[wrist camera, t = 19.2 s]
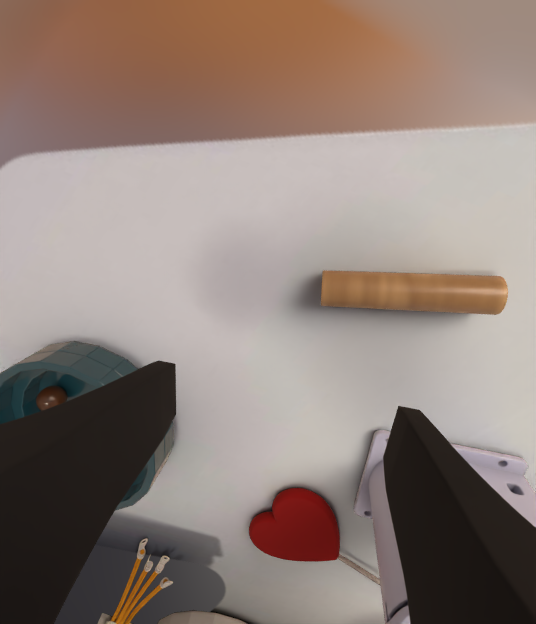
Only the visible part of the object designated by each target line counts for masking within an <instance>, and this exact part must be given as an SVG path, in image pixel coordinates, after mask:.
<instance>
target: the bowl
mask: <svg viewBox="0 0 536 624" xmlns="http://www.w3.org/2000/svg"><path fill="white" fill-rule="evenodd" d="M136 370H138V368H136V367H135V366H134V365H133V364H132V363H130V362H129V361H128V360H127V359H125V358H123V357H121V356H119V355H117V354H115V353H113V352H111V351H109V350H107V349H105V348H103V347H100V346H97V345H92V344H86V343H81V342H76V341H74V342H65V343H58V344H51V345H49V346H47V347H45V348H43V349H42V350H40V351H38V352H36V353H34V354H33V355H31V356H29V357H27V358H25V359H24V360H22V361H20V362H18V363H17V364H15V365H13V366H12V367H10V368H8V369H7V370H5V371H3V372H2V373H0V424H2V423H6V422H9V421H13V420H16V419H19V418H22V417H25V416H28V415H31V414H34V413H37V412H40V411H41V410H40V409H39V408H38V407H37V404H36V398H37V395H38V394H39V392H40V391H41V390H43V389H44V388H46V387H49V386H59V387H61V388H63V389H64V390H65V391H66V393H67V401H69V400H71V399H74V398H76V397H79V396H81V395H83V394H86V393H88V392H90V391H93V390H95V389H97V388H100V387H102V386H104V385H106V384H108V383H110V382H113V381H115V380H117V379H119V378H121V377H123V376H125V375H127V374H130V373H132V372H134V371H136ZM173 444H174V423H173V421H172V423H171V425H170V427H169V429H168V431H167V432H166V434H165V436H164V438H163V440H162V442H161V443H160V445H159V446H158V448H157V449H156V451H155V452H154V454H153V455H152V457H151V458H150V459H149V461H148V462H147V464H146V465H145V467H144V468H143V470H142V471H141V473H140V474H139V475H138V477H137V478H136V480H135V481H134V483H133V484H132V486H131V487H130V489H129V490H128V491H127V493H126V494H125V496H124V497H123V499H122V500H121V502H120V503H119V505H118V506H117V508H116V509H115V510H119V509H122V508H125V507H128V506H132V505H134V504H135V503H136V502H137V501H139V500H140V499H141V498H142V497H143V496H144V495H146V494H147V493H148V492H149V490H150V488H151V487H152V485H153V483H154V482H155V480H156V478H157V477H158V475H159V473H160V472H161V470H162V468H163V467H164V465H165V463H166V462H167V459H168V457H169V455H170V452H171V450H172V447H173Z"/></svg>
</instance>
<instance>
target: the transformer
mask: <svg viewBox="0 0 536 624" xmlns="http://www.w3.org/2000/svg"><path fill="white" fill-rule="evenodd" d="M145 540H146V541H145ZM143 541H145V542H144V543H142V542H143ZM147 541H148V539H147V538H146V539H143V540H142V541H141V542H140V544H139V549H138V554H137V560H136V562H135V565H134V568H133V570H132V573H131V576H130V578H129V581H128V583H127V586H126V588H125V591H124V593H123V596H122V598H121V600H120V602H119V605H118V607H117V609H116V611H115V613H114V615H113V616H110V615H107V614H104V613H102V615H101V617H100V620H99V622H98V624H132V623H130V622H131V620H132V619H133V617H134V616H135V615H136V614H137V612H138V611H139V610H140V609H141V608H142V607H143V606H144V605H145V604H146V603H147V602H148V601H149V600H150V599H151V598H152V597H153V596H154V595H155V594H156V593H158V592H159V591H160V590H161V589H162V588H165V587H167V586H169V585H171V584H172V583H173V581H169V579H168V578H167V577H166V578H163V579H162V580H161V582H160V584H159V585H158V586H157V587H156V588H155V589H154V590H153V591H152V592H151V593H150V594H149V595H148V596H147V597H146V598H145V599H144V600H143V601H141V603H140V604H139V605H138V606H137V607H136V608H135V609H134V611H133V612H132V613H131V614H130V616H129V617H128V619H127V620H126V618H127V616H128V615H129V613H130V612H131V610H132V609H133V607H134V606H135V605H136V603H137V602H138V600H139V599H140V598H141V596H142V595H143V593H144V592H145V591H146V589H147V588H148V587H149V585H150V584H151V582H152V581H153V580H154V579H155V577H156V576H157V575H158V574H159V573H161V571H162V570H163V569H164V565H165V563H167V562H168V561H169V557H167V556H162V557H161V559H160V562H159V563H158V565H157V566H156V567H155V571H154V572H153V574H152V575H151V576H150V578H149V579H148V580H147V582H146V583H145V584H144V586H143V587H142V589H141V590H140V591H139V593H138V594H137V596H136V597H135V598H134V596H135V594H136V592H137V591H138V589H139V587H140V585H141V583H142V582H143V580H144V578H145V576H146V575H147V573H148V571H150V570H151V568H152V566H153V562H152V561H149V558H150V556H151V554H150V556H149V558H148V561H147V563H146V564H145V566H144V570H143V572H142V574H141V576H140V577H139V579H138V581H137V583H136V585H135V586H134V588H133V590H132V592H131V594H130V595H129V598H128V599H127V601H126V603H125V605H124V607H123V609H122V610H121V608H122V606H123V603H124V601H125V599H126V596H127V594H128V592H129V589H130V587H131V585H132V582H133V580H134V577H135V575H136V572H137V570H138V567H139V564H140V562H141V559H143V558H144V556H145V553H146V550H145V548H144V547H145V545H146V543H147ZM164 557H165V558H167V559H164ZM133 598H134V600H133ZM132 600H133V602H132V603H131V601H132ZM130 603H131V604H130ZM129 605H130V606H129ZM127 608H128V609H127ZM120 610H121V612H120ZM119 612H120V614H119ZM118 614H119V616H118ZM117 616H118V618H117ZM125 620H126V621H125Z"/></svg>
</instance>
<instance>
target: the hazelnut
mask: <svg viewBox="0 0 536 624" xmlns="http://www.w3.org/2000/svg"><path fill="white" fill-rule="evenodd" d="M64 402H67V393H66V391H65V390H64V389H63V388H61V387H59V386H49V387H46V388H44V389H43V390H41V391H40V392H39V394H38V395H37V398H36V404H37V407H38V408H39V409H40V410H41V411H43V410H46V409H48V408H51V407H54V406H56V405H59V404H62V403H64Z"/></svg>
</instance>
